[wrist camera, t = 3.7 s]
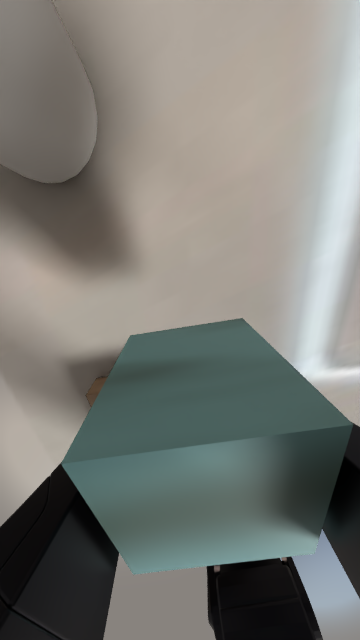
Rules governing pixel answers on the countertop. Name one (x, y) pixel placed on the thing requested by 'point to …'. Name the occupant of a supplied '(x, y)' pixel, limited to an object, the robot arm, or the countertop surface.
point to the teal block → (207, 451)
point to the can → (42, 95)
